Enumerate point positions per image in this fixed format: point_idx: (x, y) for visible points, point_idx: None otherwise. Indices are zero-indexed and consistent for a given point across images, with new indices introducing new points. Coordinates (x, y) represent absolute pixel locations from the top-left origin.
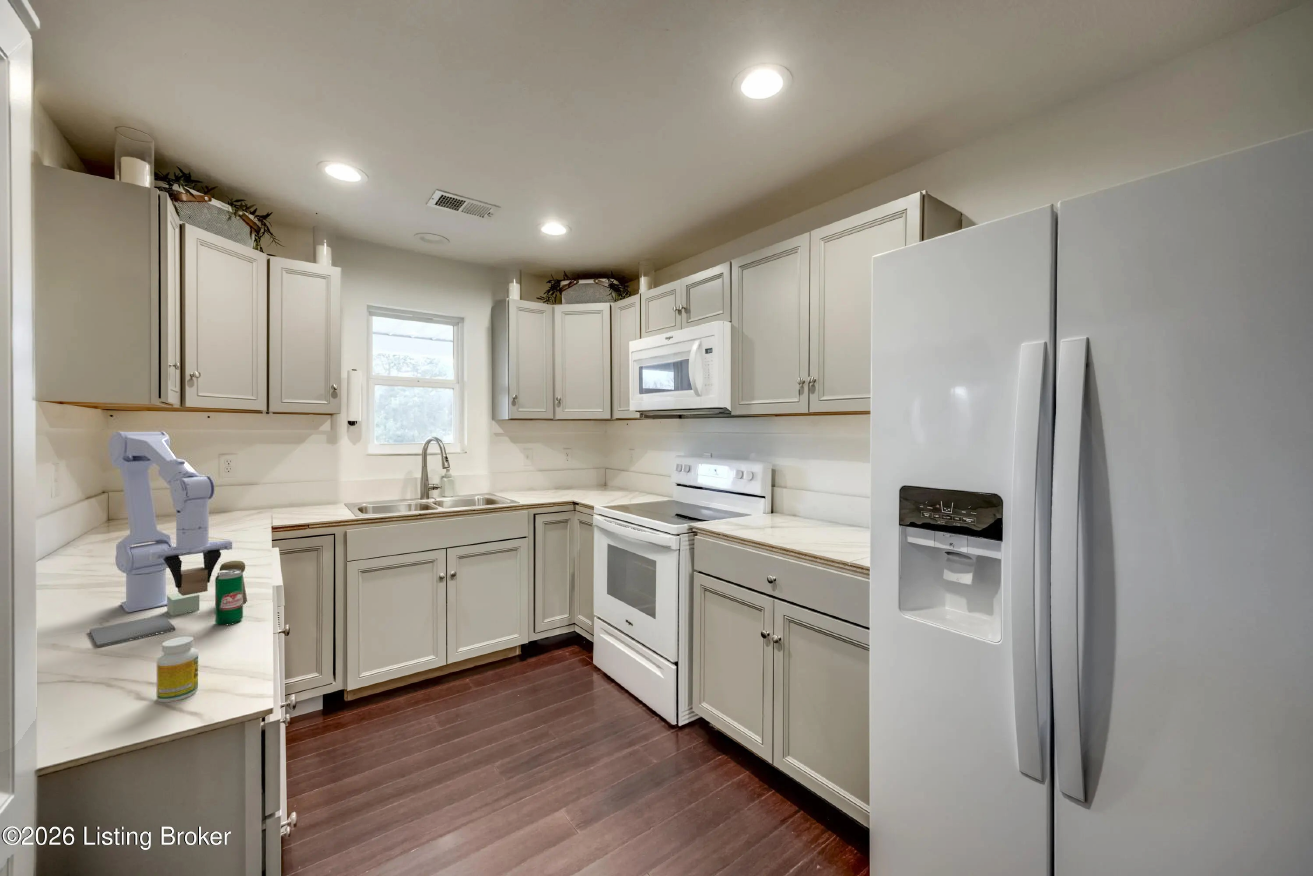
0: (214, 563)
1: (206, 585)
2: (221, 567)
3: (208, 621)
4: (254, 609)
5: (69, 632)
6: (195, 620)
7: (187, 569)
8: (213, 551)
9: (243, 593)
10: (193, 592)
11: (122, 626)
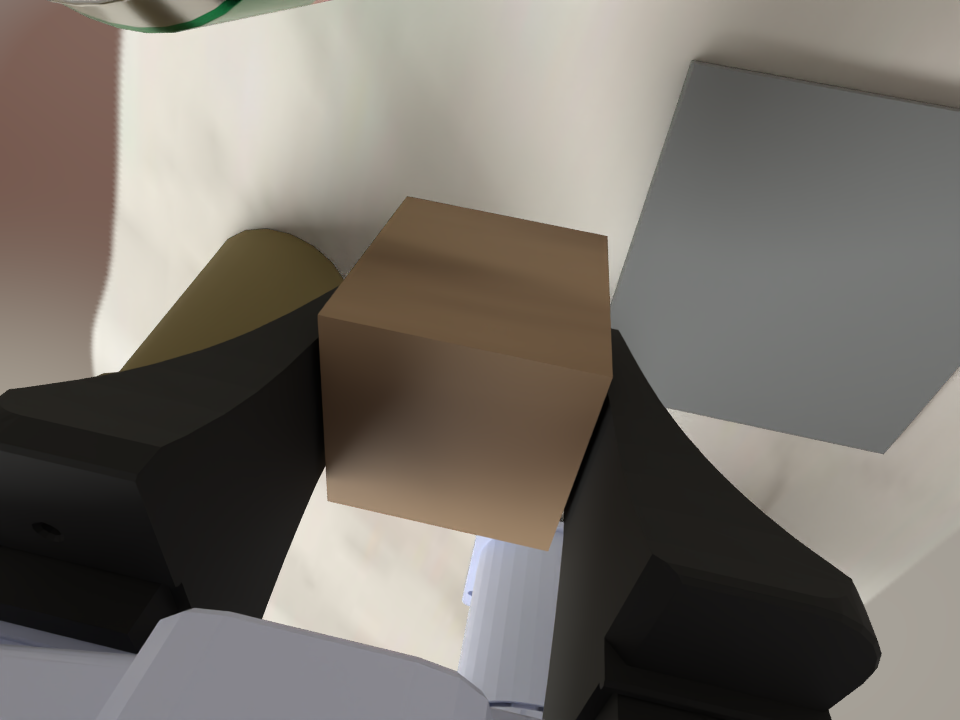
0: (184, 363)
1: (397, 225)
2: None
3: (478, 60)
4: (192, 54)
5: (899, 504)
6: (518, 168)
7: (468, 520)
8: (54, 586)
9: (197, 278)
10: (518, 223)
11: (797, 374)
